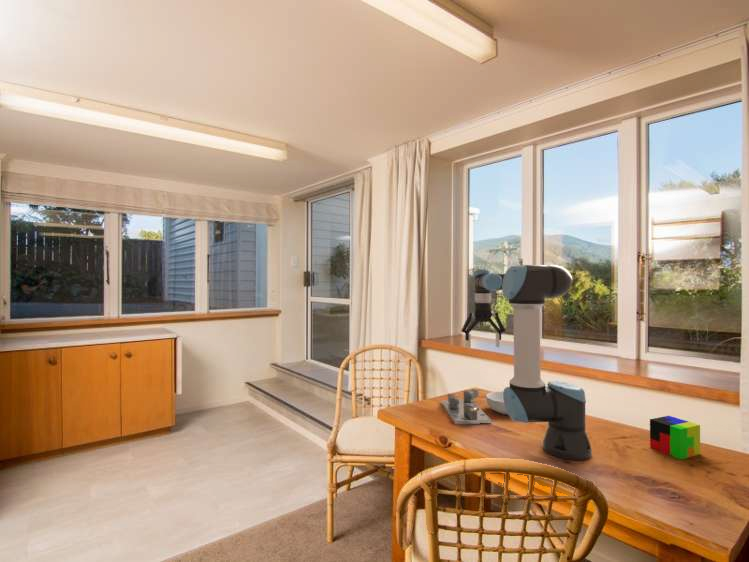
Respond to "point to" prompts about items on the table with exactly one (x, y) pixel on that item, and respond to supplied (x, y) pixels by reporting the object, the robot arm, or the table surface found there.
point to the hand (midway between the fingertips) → (483, 347)
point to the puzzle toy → (675, 436)
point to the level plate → (459, 415)
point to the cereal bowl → (496, 402)
